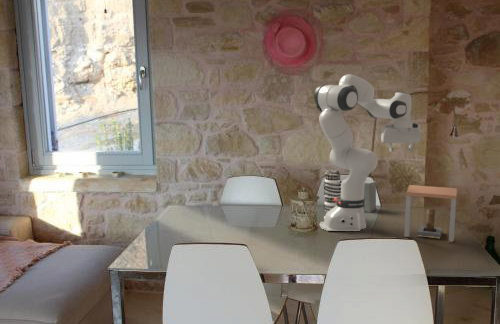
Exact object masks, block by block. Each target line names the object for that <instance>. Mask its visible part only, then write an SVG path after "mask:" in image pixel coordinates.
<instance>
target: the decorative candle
mask: <svg viewBox="0 0 500 324" xmlns="http://www.w3.org/2000/svg"><path fill="white" fill-rule="evenodd" d="M324 175H325V176H324V177H325V178H324V182H323V189H324V190H323V196H324V204H323V209H324V210H323V219H325V215H326V213H327V212H328V211H330V210H331V209H332V208H334V207H335V206H336V205H337V202H335V201H334V199H335V198H337V199H339V198H340V197H341V182H342V181H343V180H341V172H340V171H339V170H338V169H335V168H334V169H332V168H331V169H328V170H326V171H325V172H324Z"/></svg>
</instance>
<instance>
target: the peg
mask: <svg viewBox="0 0 500 324" xmlns="http://www.w3.org/2000/svg"><path fill="white" fill-rule="evenodd" d="M435 217H436V209H435V208H434V209H433V208H427V209H426V221H425V222H426V225H425V226H426V231H429V232H434V227H435V219H436V218H435Z"/></svg>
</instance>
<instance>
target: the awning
mask: <svg viewBox="0 0 500 324" xmlns="http://www.w3.org/2000/svg"><path fill="white" fill-rule="evenodd" d="M457 191H458V188H456V187H455V188H454V187H445V186H443V187H441V186H430V185H429V186H427V185H415V184H414V185H413V184H409V185H408V187H407V189H406V192H405V212H404V234H403V235H404V236H409V237H410V229H411V227H410V226H411V209H412V208H411V206H412V205H411V204H412V197H413V196H414V197H424V198H425V197H426V198H435V199H436V198H437V199H446V200H447V199H450V201H451V202H450V211H449V212H450V213H449V214H450V215H449V230H448V231H449V234H448V241H449V240H450V241H455V226H456V225H455V224H456V212H457V211H456V210H457V209H456V208H457V193H458V192H457ZM442 232H443V227H439V226H436V227H435V226H434V232H429V231H426V225H419V226H418V230H417V235H422V236H434V237H441V238H442V234H443V233H442ZM441 233H442V234H441ZM404 236H403V237H404Z"/></svg>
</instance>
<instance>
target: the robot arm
mask: <svg viewBox="0 0 500 324" xmlns="http://www.w3.org/2000/svg"><path fill="white" fill-rule="evenodd" d="M374 97H375V88H374V86H373V84H371V83H370V82H369V81H367V80H366V79H364V78H362V77H360V76H358V75H356V74H355V75H354V74H352V73H351V74H350V73H347V74H345V75H343V76H342V77H340V79H339V81H338V84H321V85H319V86H317V87H316V88H315V89H314V92H313V99H314V103H315V105H316V108H317V110H318V111H319V112H321V113H320V114H319V117H318V121H319V124H320V125H319V126H320V127H321V130H322V132H323V134H324V135H325V137H326V139H327V141H328V143H329V144H330V146H331V151H330V153H329V162H330V163H331V164H332V165H333V166H335V167H337V168H340V169H342V170H343V169H345V170H349V173H348V176H347V177H346V178H344V179H343V180H341V181H342V182H341V183H340V184H341V186H340V188H341V190H340V191H341V193H340V195H341V196H340V198H339V199H337V198H335V199H334V201H335V202H337V205H336V206H335V207H334V208H332V209H331V210H330V211H328V212H327V213H326V215H325V218H323V221H320V222H319V227H320V229H322V230H323V229H324V230H323V231H325V230H326V232H328V231H360V230H361V229H363V230H365V229H366V228H367V227H366V226H367V223H366V219H365V218H366V217H365V211H364V208H365V199H364V186H365V181H367V179H368V176H369V175H370V174H371V173H372V172H373V171H375V170H376V168H377V167H378V163H379V159H378V156H377V153H376V152H374V151H372V150H370V149H367V148H363V147H361V148H360V147H355V146H353V145H352V144H353V141H354V134H353V133H352V130H351V129H350V127H349V125H348V123H347V121H346V120H345V119H344V117H343V115H342V112H343V111H344V112H347V111H348V112H349V111H351V110H353V109H355V107H357V105H358V106H360V107H361V108H362V109H364V110H365V112H366V113H367V114H368V115H369V116H370V117H371V118H372V119H386V120H387V119H388V120H390V119H391V120H392V124H384V125H382V127H381V137H380V142H382V143H383V144H387V147H388V148H389V152H390V153H392V152H394V148H395V147H394V148H393V147H392V144H397V143H398V144H401V143H403V144H405V143H409V145H408V147H406V151H407V152H411V151H412V149H413V146H414V143H420V142H421V140H422V132H421V129H420V128H421V124H420V123H417V122H414V121H412V117H411V113H412V96H411V94H410V93H407V92H403V91H398V92H395V93H394V96H393V97H391V98H389V99H388V98H387V99H386V98H377V97H375V98H374ZM364 228H365V229H364ZM361 231H362V230H361ZM361 231H360V232H361Z"/></svg>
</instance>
